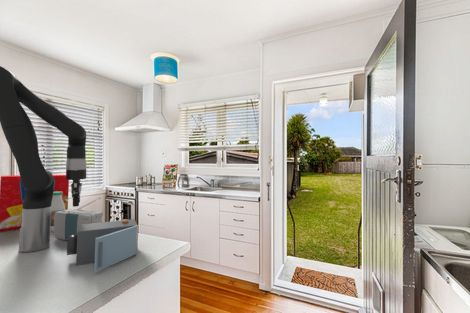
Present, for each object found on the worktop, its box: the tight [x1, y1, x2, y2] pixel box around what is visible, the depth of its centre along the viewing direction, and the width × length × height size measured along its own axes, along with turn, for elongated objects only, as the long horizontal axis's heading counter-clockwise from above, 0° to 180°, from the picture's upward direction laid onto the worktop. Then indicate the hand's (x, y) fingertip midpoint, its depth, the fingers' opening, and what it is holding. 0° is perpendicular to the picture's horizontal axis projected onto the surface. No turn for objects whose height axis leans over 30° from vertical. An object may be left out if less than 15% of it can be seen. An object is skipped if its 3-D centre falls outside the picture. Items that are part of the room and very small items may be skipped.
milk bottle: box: [50, 191, 65, 232], centre depth 119 cm, size 8×8×20 cm
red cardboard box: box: [0, 174, 70, 233], centre depth 125 cm, size 28×8×28 cm, turn 134°
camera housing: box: [66, 218, 138, 266], centre depth 89 cm, size 23×10×13 cm, turn 121°
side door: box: [93, 224, 139, 273], centre depth 82 cm, size 17×2×11 cm, turn 156°
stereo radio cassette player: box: [53, 197, 104, 241], centre depth 106 cm, size 21×8×20 cm, turn 76°
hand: (76, 204), depth 101 cm, fingers open, 8 cm apart
